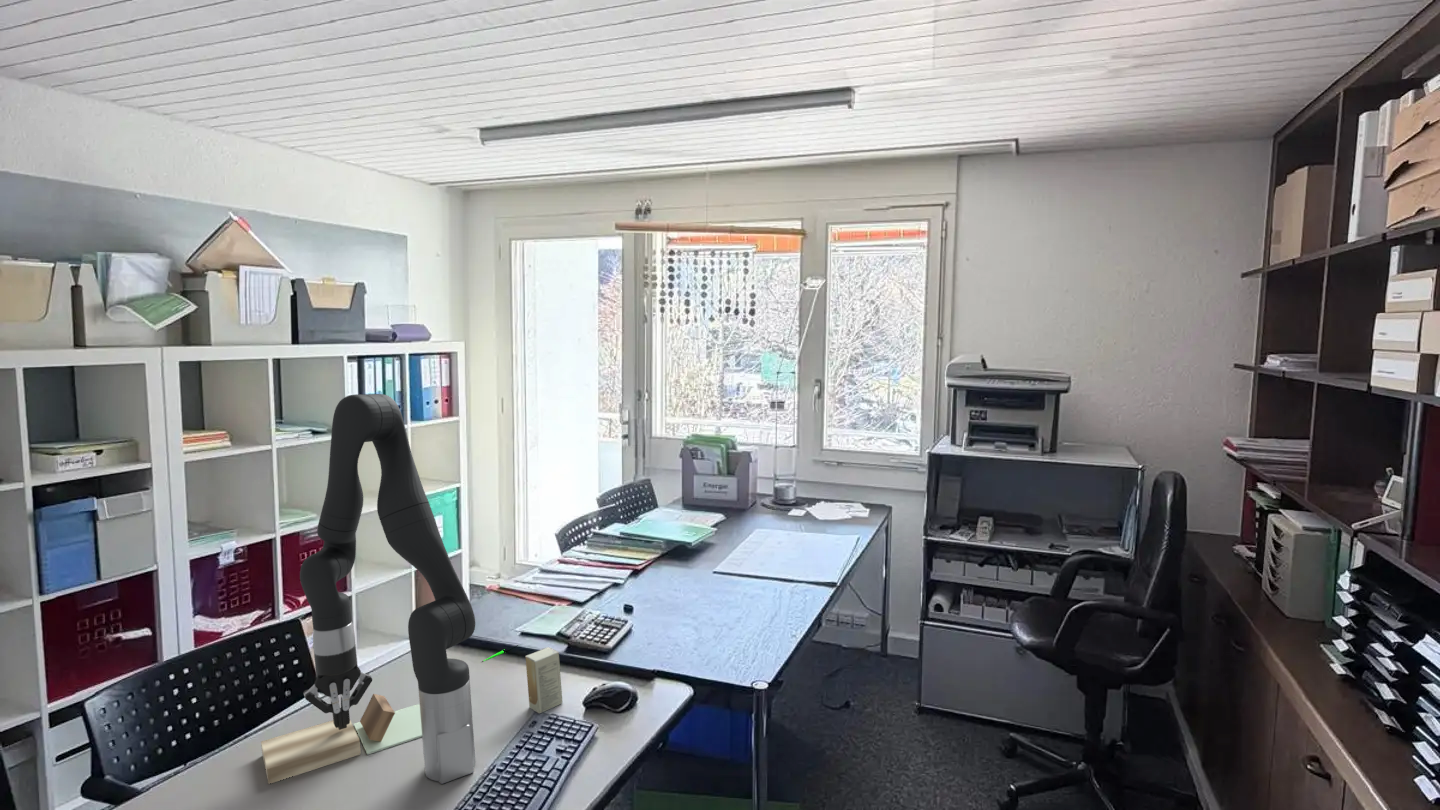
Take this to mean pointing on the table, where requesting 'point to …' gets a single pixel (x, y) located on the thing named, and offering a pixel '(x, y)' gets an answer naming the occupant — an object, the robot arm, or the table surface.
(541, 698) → the skincare box
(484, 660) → the pen
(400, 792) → the table surface
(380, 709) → the brown wooden block
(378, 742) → the mat
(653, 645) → the table surface
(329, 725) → the beige ridged block
